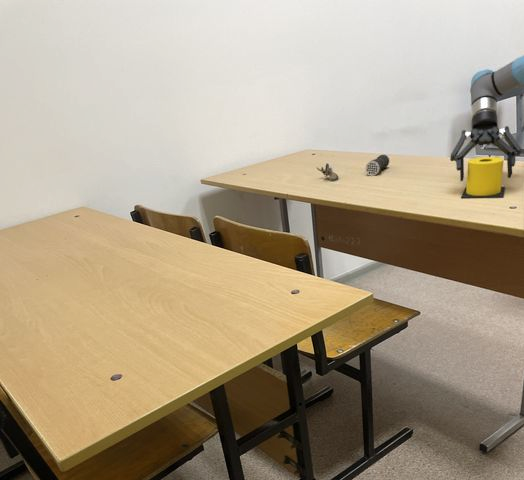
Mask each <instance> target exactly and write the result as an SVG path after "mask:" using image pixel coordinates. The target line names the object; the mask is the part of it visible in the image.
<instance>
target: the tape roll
mask: <svg viewBox="0 0 524 480" xmlns="http://www.w3.org/2000/svg"><path fill="white" fill-rule="evenodd" d="M504 160H505V159H504V158H503V157H500V156H499V157H498V156H483V157H482V156H481V157H474V158H471V159H469V160H468V161H467V175H466V187H467V188H466V187H465V188H466V193H467V194H469V195H474V196H487V195H494V194H498V193H500V192H501V187H502V183H503V182H502V180H503V172H504V171H503V170H504Z"/></svg>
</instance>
